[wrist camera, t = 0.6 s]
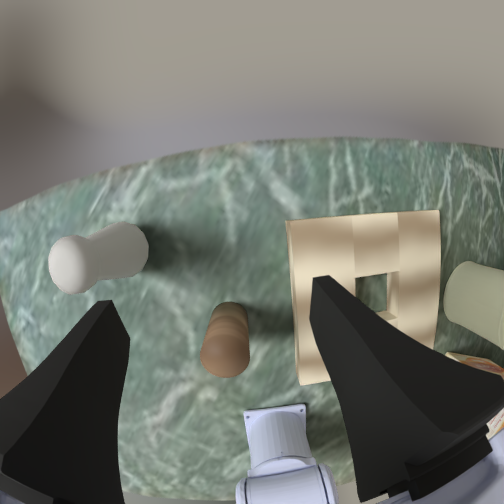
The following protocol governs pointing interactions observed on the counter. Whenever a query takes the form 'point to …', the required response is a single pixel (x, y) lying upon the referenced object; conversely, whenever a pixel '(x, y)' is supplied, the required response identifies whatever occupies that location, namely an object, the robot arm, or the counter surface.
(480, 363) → the coffeecake box
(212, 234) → the counter surface
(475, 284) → the can
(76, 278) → the salt shaker
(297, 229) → the socket block
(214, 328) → the peg
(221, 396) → the counter surface
